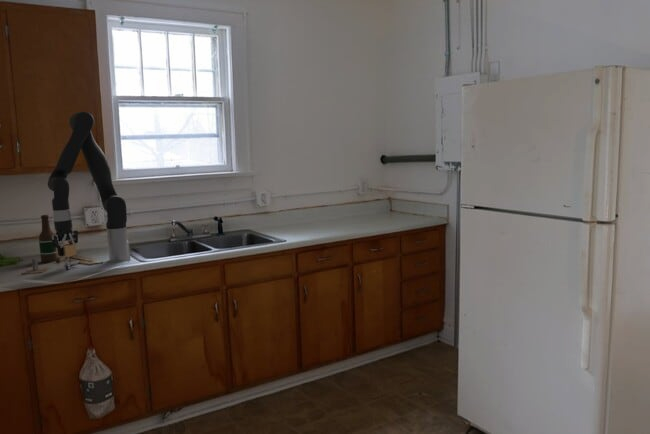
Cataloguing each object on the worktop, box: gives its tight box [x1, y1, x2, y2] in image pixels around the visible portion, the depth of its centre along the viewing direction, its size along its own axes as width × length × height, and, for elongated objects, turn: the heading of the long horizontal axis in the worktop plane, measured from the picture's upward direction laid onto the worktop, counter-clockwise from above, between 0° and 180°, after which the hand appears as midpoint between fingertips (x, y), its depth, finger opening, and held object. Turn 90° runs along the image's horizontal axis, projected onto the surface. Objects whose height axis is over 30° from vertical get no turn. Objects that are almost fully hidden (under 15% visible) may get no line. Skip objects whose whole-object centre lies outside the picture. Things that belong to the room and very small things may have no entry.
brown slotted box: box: [56, 243, 78, 258], centre depth 251 cm, size 6×6×5 cm
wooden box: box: [21, 257, 50, 275], centre depth 248 cm, size 9×9×7 cm
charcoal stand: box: [56, 257, 79, 272], centre depth 252 cm, size 7×7×6 cm
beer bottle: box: [38, 214, 58, 264], centre depth 273 cm, size 8×8×24 cm
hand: (67, 254), depth 251 cm, fingers closed on brown slotted box, 6 cm apart
